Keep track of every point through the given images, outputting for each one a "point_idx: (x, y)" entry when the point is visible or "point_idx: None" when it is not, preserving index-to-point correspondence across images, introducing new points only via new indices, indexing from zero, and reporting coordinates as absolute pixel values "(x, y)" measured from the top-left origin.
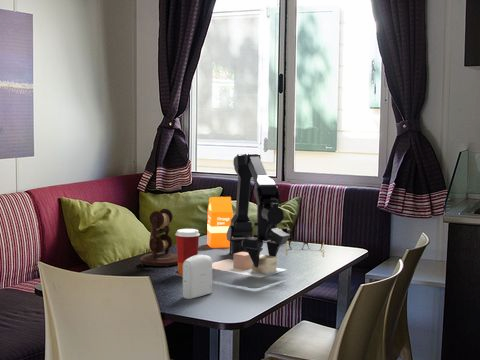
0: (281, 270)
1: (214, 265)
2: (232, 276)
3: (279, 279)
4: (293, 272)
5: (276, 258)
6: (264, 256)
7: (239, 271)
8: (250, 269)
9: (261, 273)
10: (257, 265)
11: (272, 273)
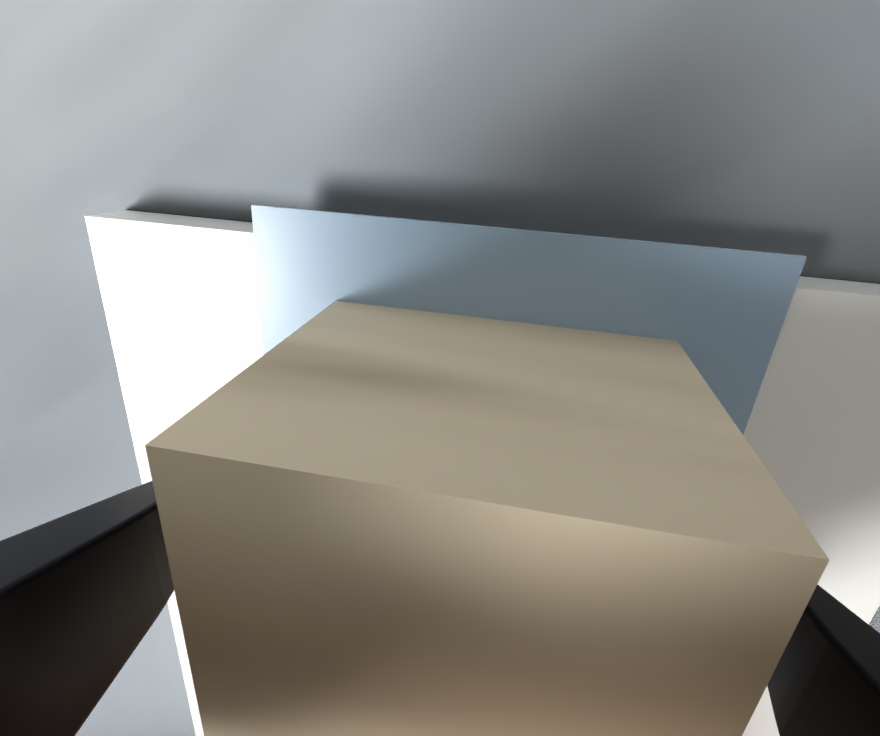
0: (207, 268)
1: None
2: None
3: (680, 11)
4: (36, 125)
5: (193, 422)
6: (371, 729)
7: None
8: None
9: None
10: (844, 607)
11: (540, 275)
